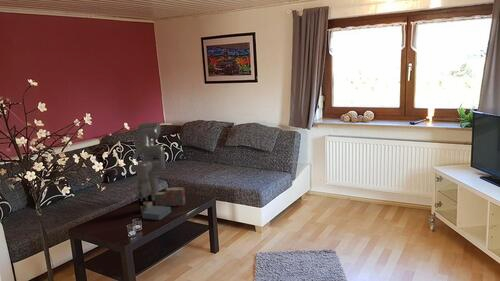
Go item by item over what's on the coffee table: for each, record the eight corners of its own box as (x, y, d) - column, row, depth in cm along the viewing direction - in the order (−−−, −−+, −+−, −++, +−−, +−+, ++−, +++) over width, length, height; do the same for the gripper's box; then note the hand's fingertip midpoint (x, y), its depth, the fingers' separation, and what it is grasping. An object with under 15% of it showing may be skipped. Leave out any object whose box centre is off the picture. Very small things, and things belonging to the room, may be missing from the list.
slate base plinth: (142, 218, 260) (141, 212, 259) (154, 210, 272) (154, 205, 272) (159, 220, 254) (158, 214, 254) (171, 212, 267) (170, 207, 266)
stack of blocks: (155, 206, 281) (153, 190, 279) (158, 203, 287) (156, 188, 285) (183, 205, 279) (182, 189, 277) (185, 202, 285) (184, 187, 283)
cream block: (141, 212, 272) (140, 204, 271) (146, 208, 278) (145, 201, 276) (147, 212, 270) (146, 204, 269) (153, 209, 275) (152, 201, 274)
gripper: (139, 184, 260) (142, 208, 262) (154, 177, 276) (157, 200, 278) (130, 183, 263) (133, 207, 265) (146, 177, 278) (149, 199, 281)
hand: (145, 203), depth 272 cm, fingers open, 9 cm apart
